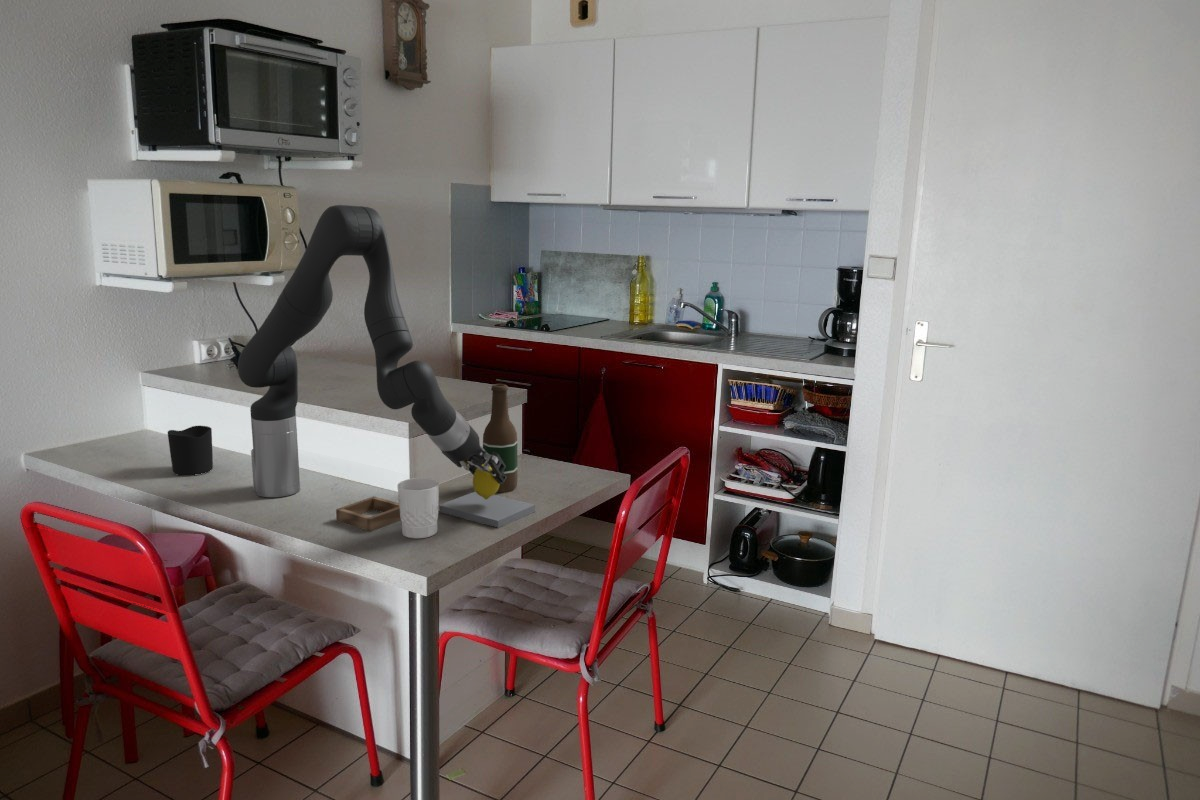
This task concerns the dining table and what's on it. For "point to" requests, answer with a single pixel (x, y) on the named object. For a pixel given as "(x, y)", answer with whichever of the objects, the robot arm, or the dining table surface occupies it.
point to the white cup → (418, 507)
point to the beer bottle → (502, 437)
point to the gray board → (487, 509)
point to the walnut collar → (356, 510)
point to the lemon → (484, 483)
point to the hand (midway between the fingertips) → (491, 477)
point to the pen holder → (191, 450)
